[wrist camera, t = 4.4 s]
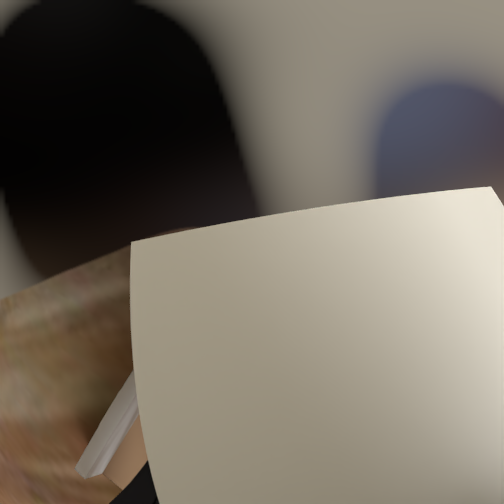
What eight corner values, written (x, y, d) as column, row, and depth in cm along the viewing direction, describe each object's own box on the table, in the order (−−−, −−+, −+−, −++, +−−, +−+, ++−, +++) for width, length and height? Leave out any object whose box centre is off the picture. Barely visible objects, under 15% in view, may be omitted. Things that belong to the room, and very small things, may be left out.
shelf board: (381, 361, 17) (403, 353, 14) (260, 553, 10) (260, 577, 7) (212, 279, 21) (203, 257, 18) (98, 460, 14) (72, 466, 11)
